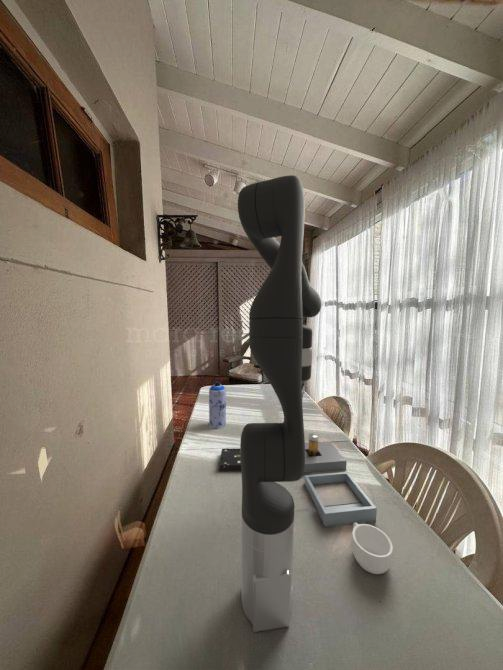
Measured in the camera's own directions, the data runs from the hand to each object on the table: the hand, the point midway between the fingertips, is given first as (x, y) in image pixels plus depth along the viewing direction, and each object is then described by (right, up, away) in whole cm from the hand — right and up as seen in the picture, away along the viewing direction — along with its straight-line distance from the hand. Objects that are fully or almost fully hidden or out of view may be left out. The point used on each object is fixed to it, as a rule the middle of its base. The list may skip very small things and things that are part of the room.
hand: (295, 414), depth 77 cm
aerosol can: (-29, -17, +41) cm, 53 cm away
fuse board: (+8, -20, +12) cm, 25 cm away
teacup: (+12, -24, -21) cm, 34 cm away
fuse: (+8, -19, +12) cm, 24 cm away
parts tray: (+10, -22, -6) cm, 25 cm away
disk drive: (-16, -21, +13) cm, 30 cm away
